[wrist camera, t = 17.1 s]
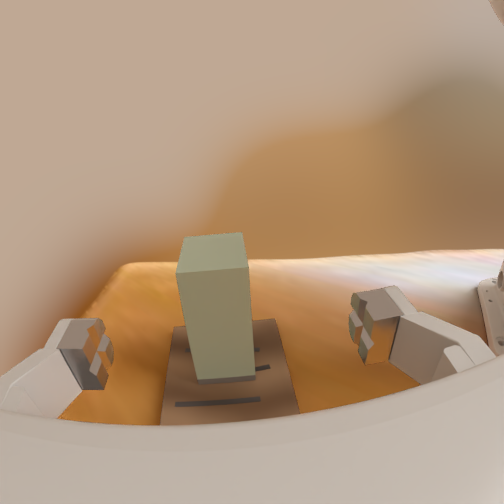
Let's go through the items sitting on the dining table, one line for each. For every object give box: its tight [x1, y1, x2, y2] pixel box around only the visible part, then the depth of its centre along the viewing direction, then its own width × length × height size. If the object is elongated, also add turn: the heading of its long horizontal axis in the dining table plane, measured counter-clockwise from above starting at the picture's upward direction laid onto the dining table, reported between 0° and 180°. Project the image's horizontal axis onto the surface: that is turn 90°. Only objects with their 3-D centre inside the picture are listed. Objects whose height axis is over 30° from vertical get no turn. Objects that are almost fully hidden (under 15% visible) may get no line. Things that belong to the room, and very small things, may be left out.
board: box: [160, 319, 300, 425], centre depth 23 cm, size 19×10×1 cm, turn 5°
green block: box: [176, 232, 256, 385], centre depth 24 cm, size 6×4×10 cm
